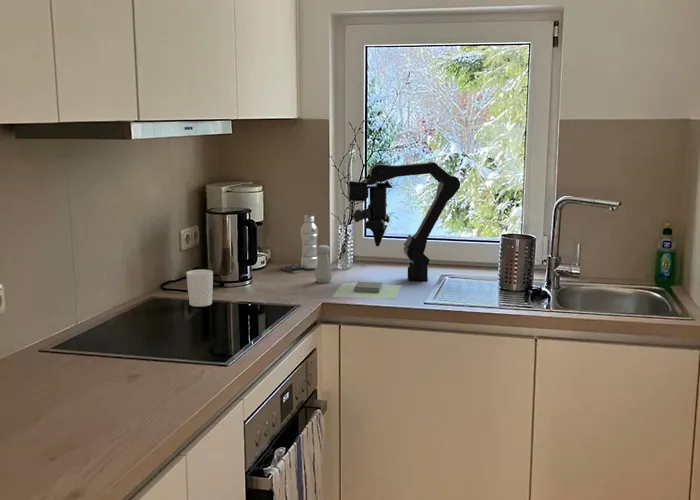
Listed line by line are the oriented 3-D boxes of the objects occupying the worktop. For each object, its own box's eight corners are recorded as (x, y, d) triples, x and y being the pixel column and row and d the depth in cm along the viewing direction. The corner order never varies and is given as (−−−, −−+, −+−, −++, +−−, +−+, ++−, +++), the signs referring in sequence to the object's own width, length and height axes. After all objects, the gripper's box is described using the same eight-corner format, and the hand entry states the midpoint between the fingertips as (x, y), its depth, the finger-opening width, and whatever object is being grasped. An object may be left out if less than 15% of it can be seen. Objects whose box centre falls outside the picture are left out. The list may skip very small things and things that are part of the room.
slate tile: (382, 282, 250) (379, 287, 242) (382, 287, 250) (378, 293, 243) (358, 281, 251) (354, 286, 244) (358, 286, 252) (354, 292, 244)
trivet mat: (401, 286, 254) (401, 285, 254) (395, 300, 235) (395, 299, 235) (343, 284, 257) (343, 283, 257) (332, 297, 238) (332, 296, 238)
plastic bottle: (318, 270, 280) (318, 217, 277) (300, 270, 280) (299, 217, 277) (319, 267, 287) (318, 215, 283) (301, 267, 287) (301, 215, 283)
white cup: (185, 302, 232) (184, 270, 230) (210, 300, 235) (209, 268, 233) (190, 308, 224) (189, 275, 223) (216, 305, 228) (215, 273, 226)
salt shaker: (331, 284, 257) (331, 247, 254) (314, 284, 257) (314, 247, 254) (332, 281, 262) (332, 244, 260) (315, 280, 262) (315, 244, 260)
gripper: (358, 197, 267) (358, 241, 270) (350, 203, 249) (350, 250, 252) (390, 198, 265) (389, 242, 268) (383, 204, 247) (383, 251, 250)
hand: (377, 246), depth 259 cm, fingers closed
